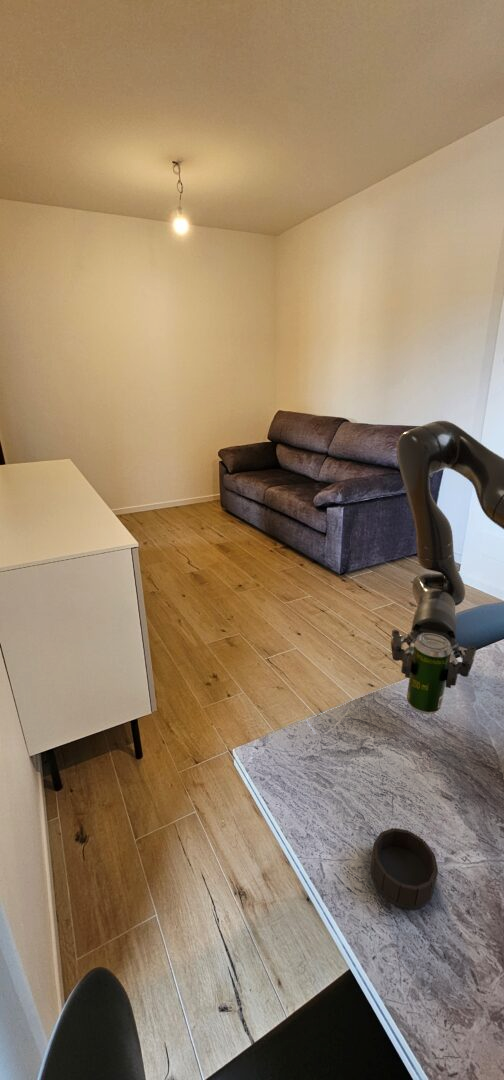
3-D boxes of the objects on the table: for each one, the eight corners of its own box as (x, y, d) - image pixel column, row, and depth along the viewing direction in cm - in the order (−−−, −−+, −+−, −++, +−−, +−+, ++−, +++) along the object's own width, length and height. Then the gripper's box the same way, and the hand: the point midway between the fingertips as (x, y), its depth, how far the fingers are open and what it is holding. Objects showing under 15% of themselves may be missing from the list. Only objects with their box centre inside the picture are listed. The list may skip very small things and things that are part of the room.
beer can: (442, 699, 75) (453, 637, 71) (439, 720, 71) (450, 655, 67) (408, 689, 78) (417, 629, 73) (403, 709, 73) (412, 645, 69)
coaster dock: (427, 852, 55) (431, 833, 54) (439, 916, 48) (444, 896, 47) (368, 841, 56) (371, 823, 55) (372, 902, 49) (375, 882, 48)
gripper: (396, 600, 86) (382, 646, 71) (480, 615, 80) (484, 669, 66) (392, 634, 88) (378, 685, 74) (472, 651, 83) (475, 710, 68)
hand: (428, 677), depth 70 cm, fingers closed on beer can, 5 cm apart
